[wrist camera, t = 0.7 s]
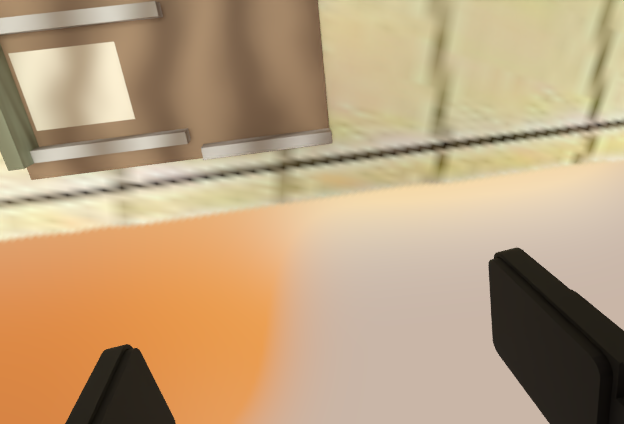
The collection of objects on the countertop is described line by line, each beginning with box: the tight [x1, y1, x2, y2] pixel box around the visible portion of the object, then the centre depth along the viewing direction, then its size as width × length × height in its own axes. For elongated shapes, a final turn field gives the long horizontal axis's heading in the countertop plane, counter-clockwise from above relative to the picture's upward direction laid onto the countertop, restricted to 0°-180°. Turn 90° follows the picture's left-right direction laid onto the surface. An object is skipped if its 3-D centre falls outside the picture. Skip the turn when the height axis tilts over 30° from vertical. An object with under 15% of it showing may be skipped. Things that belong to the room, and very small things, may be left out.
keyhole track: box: [0, 0, 332, 180], centre depth 32 cm, size 26×14×3 cm, turn 96°
